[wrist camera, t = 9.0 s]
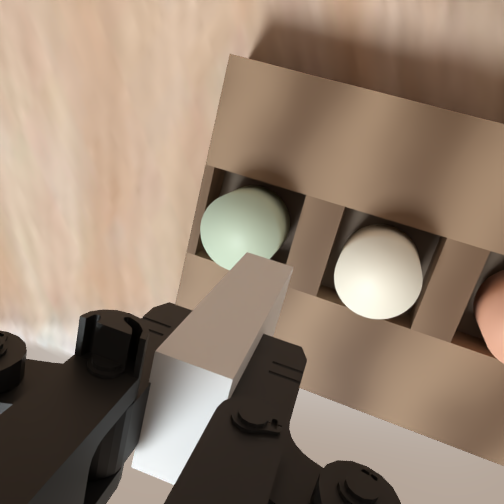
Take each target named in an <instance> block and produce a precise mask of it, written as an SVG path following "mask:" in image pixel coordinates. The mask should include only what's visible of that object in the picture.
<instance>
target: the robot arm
mask: <svg viewBox="0 0 504 504" xmlns="http://www.w3.org/2000/svg"><path fill="white" fill-rule="evenodd" d="M292 271H293V267H292V266H289V265H286V264H283V263H279V262H276V261H273V260H270V259H267V258H264V257H261V256H258V255H255V254H251V253H248V252H247V253H246V254H245V255H244V256H243V257H242V258H241V259H240V260H239V261H238V262H237V263H236V264H235V266H234V267H233V268H232V269H231V270H230V271H229V272H228V273H227V274H226V275H225V276H224V277H223V278H222V280H221V281H220V282H219V283H218V284H217V285H216V286H215V287H214V288H213V289H212V290H211V291H210V292H209V294H208V295H207V296H206V297H205V298H204V299H203V300H202V301H201V302H200V303H199V304H198V305H197V306H196V308H195V309H194V310H190V309H187V308H184V307H181V306H178V305H175V304H173V303H170V302H169V303H166V304H163V305H160V306H157V307H153V308H152V309H151V310H150V311H149V312H148V313H147V314H145V315H144V316H143V318H141V319H140V318H138V317H136V316H134V315H132V314H130V313H126V312H122V311H118V310H97V311H91V312H88V313H86V314H84V315H81V316H80V320H79V327H78V334H77V341H76V349H75V355H73V356H72V357H71V358H70V359H68V360H67V361H66V362H65V363H64V364H60V363H51V362H44V361H37V360H30V359H26V351H27V350H26V344H25V342H24V341H23V340H22V339H21V338H19V337H18V336H16V335H13V334H11V333H9V332H5V331H0V504H106V503H107V502H108V500H109V499H110V497H111V496H112V494H113V493H114V491H115V490H116V489H117V486H118V484H119V481H120V479H121V476H122V471H123V466H124V462H125V461H126V460H127V458H128V457H129V456H130V454H131V453H132V451H133V450H134V449H135V453H134V457H133V462H132V468H134V469H137V470H139V471H141V472H144V473H146V474H149V475H151V476H154V477H156V478H158V479H161V480H163V481H166V482H168V483H171V484H173V485H174V487H173V488H172V490H171V492H170V494H169V495H168V497H167V499H166V501H165V503H164V504H401V502H400V500H399V498H398V496H397V495H396V493H395V491H394V489H393V487H392V486H391V485H390V484H389V483H388V482H387V481H386V480H385V479H384V478H383V477H382V476H381V475H379V474H378V473H376V472H375V471H373V470H372V469H370V468H369V467H367V466H364V465H361V464H358V463H355V462H353V461H335V462H332V463H329V464H327V465H326V466H325V467H324V468H322V467H321V466H320V465H318V464H317V463H315V462H313V461H312V460H311V459H310V458H308V457H307V456H306V455H305V454H303V453H302V452H301V450H300V449H299V448H298V447H297V446H296V445H295V443H294V441H293V439H292V437H291V434H290V430H289V424H290V419H291V416H292V412H293V408H294V405H295V401H296V398H297V394H298V391H299V387H300V384H301V380H302V377H303V373H304V370H305V366H306V363H307V358H306V356H305V353H304V351H303V348H302V347H301V346H298V345H295V344H292V343H289V342H286V341H283V340H281V339H278V338H275V337H273V335H274V332H275V328H276V325H277V321H278V318H279V315H280V311H281V308H282V305H283V301H284V298H285V294H286V291H287V288H288V284H289V281H290V277H291V274H292Z"/></svg>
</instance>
